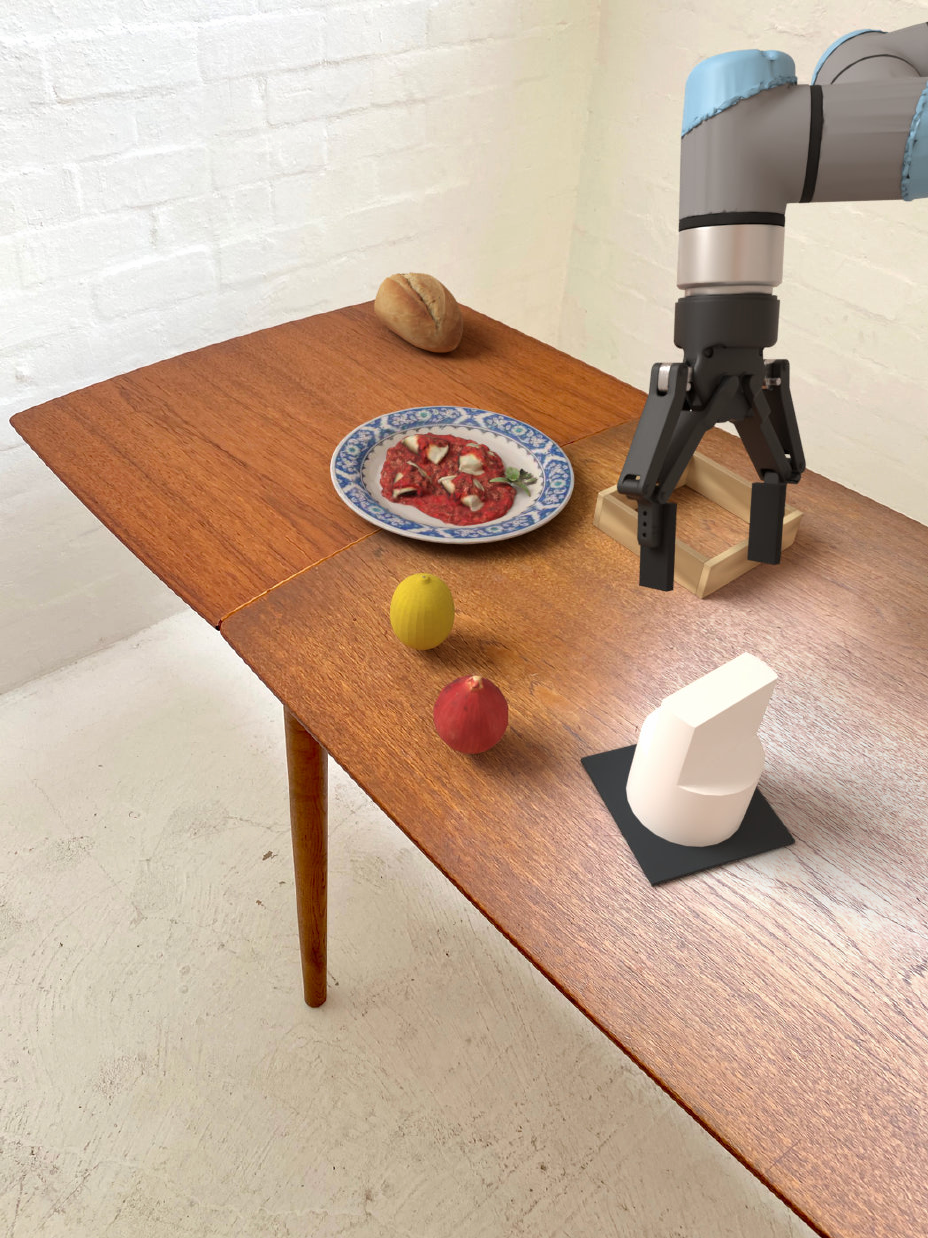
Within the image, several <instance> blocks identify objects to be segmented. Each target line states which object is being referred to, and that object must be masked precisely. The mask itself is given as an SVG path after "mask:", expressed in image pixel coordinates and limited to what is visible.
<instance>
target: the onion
mask: <svg viewBox="0 0 928 1238" xmlns="http://www.w3.org/2000/svg"><path fill="white" fill-rule="evenodd" d="M432 711H433V712H432V713H433V714H432V715H433V725H434V728H435V730H436V732H437V734H438V736H439V738H440V740H441V741H443V743H445V744H446V745H447V746H448V747H449V748H451V750H453V751H455V752H459V753H462V754H471V755H472V754H474V755H476V754H480V753H484V752H487V751H489V750H490V749H491V748H493V747H494V746H496V744H498V743H499V742H500V741H501V739H502V738H503V736H504V735H505V733H506V731H507V729H508V726H509V703H508V701H507V699H506V697H505V696H504V693H502V690H501V689H500V687H498V686H497V685H495V684H494V683H493V682H492V681H491V680H490V679H488V678H486V677H483V676H481V675H475V674H467V675H462V676H459V677H456V678H454V679H453V680H452V681H450V682H449V683H447V684H446V685H445V686H443V688H442V689H441V691H440V692H439V695H438V696H437V698H436V699H435V702H434V704H433V710H432Z"/></svg>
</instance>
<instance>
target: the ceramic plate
mask: <svg viewBox="0 0 928 1238" xmlns="http://www.w3.org/2000/svg"><path fill="white" fill-rule="evenodd" d="M329 468H330V469H329V470H330V477H331V482H332V484H333V487H334V489H335V491H336V493H337V495H338V496H339V497H340V499H341V500H342V501H343V502H344V504H346V506H347V507H348V508H349V509H351V510H352V511H353V512H354V513H355V514H357V515H358V516H360V517H361V518H363V519H364V520H365V521H368V522H369V523H371V524H372V525H375V526H377V527H379V528H381V529H384V530H386V531H388V532H391V533H394V534H397V535H400V536H403V537H407V538H410V539H415V540H420V541H425V542H431V543H439V544H449V545H450V544H455V545H474V544H484V543H494V542H499V541H504V540H505V541H506V540H509V539H512V538H515V537H519V536H522V535H524V534H528V533H530V532H531V531H532V532H533V531H535V530H536V529H538V528H541V527H542V526H544V525H546V524H547V523H549V522H550V521H551V520H552V519H554V518H556V517H557V515H559V514H560V513H561V512H562V511H563V510H564V508H565V507H566V506H567V504H568V502H569V501H570V499H571V497H572V493H573V491H574V486H575V474H574V473H575V472H574V469H573V466H572V463H571V460H570V459H569V457H568V456H567V454H566V453H565V451H564V450H563V449H562V447H560V446H559V444H558V443H557V442H555V440H553V439H552V438H551V437H549V436H548V435H546V434H545V433H544V432H542V431H541V430H540V429H537V428H536V427H534V426H532V425H530V424H529V423H526V422H524V421H522V420H518V419H517V418H514V417H511V416H508V415H506V414H502V413H499V412H495V411H491V410H487V409H481V408H476V407H467V406H457V405H431V406H430V405H429V406H417V407H410V408H405V409H400V410H396V411H392V412H388V413H385V414H381V415H378V416H377V417H374V418H373V419H370V420H368V421H366V422H363V423H362V424H359V425H358V426H356V428H355V427H354V429H353V430H351V431H350V432H349V433H347V435H345V436H344V437H343V439H341V440H340V442H339V443H338V445H337V446H336V447H335V450H334V451H333V453H332V457H331V459H330V467H329Z"/></svg>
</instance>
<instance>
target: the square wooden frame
mask: <svg viewBox="0 0 928 1238" xmlns="http://www.w3.org/2000/svg"><path fill="white" fill-rule="evenodd" d="M636 479H638V480H639V479H640V476H637V477H636ZM752 483H753V482H752V481H749V480H747V479H746V478H745V477H742V476H740V475H739V474H737V473H736V472H733V471H731V470H730V469H728V468H727V467H725V466H723V465H722V464H720V463H718V462H717V461H714V460H713V459H711V458H710V457H708V456H706V455H705V454H703V453H702V452H699V451H697V450H695V452H694V454H693V456H692V458H691V459H690V461H689V463H688V465H687V467H686V469H685V470H684V472H683V474H682V476H681V478H680V480H679V481H678V483H677V485H676V487H675V489H674V491H675V490H677V489H679V488H681V487H683V486H687V487H688V488H690V489H691V490H693V491H694V492H696V493H698V494H700V495H701V496H703V497H705V498H706V499H708V500H710V501H711V502H713V503H714V504H716V505H718V506H719V507H721V508H723V509H724V510H726V511H728V513H729V512H730V513H731V514H733V515H734V516H736V517H737V518H739V519H740V520H742V521H744V522H746V523H747V524H750V508H751V492H752ZM656 485H657V486H658V484H656ZM636 510H638V503H637V501H636V500H629V499H628V498H627V497H626V495H623V494H619V493H618V491H617V483H616V484H614V485H612V486H610V487H608V488H606V489H602V490H601V491H599V492H598V494H597V498H596V504H595V510H594V514H593V515H594V516H593V521H592V526H593V527H596V529H598V530H599V531H601V532H602V533H604V534H605V535H607V536H608V537H610V538H612V539H613V540H614V541H616V542H617V543H619V544H620V545H621V546H623V547H625V548H626V550H627V549H628V550H629V551H630V552H632V553H633V554H634V555H636V556H638V557H639V558H640V545H639V544H638V540H637V532H638V530H637V526H638V511H636ZM803 516H804V512H802V511H801V510H799V509H798V508H796V507H794V506H792V505H791V504H789V503H787V502H785V515H784V519H783V532H782V547H781V552H783V551H784V550H787V549H788V548H789V547H791V546H793V544H794V542H795V539H796V537H797V533H798V530H799V528H800V525H801V522H802V519H803ZM748 540H749V537H747V538H745V539H743V540H742V541H740V542H738V543H737V544H735V545H733V546H731V547H729V548H727V549H726V550H724V551H722V552H721V553H719V554H717V555H715V556H714V557H711V558H710V559H709V557H707V556H705V555H704V554H703V553H701V552H699V551H698V550H696V549H695V548H693V547H691V546H690V545H688V544H687V543H685V542H684V541H682V540H680V539H679V538H678V537H676V540H675V564H674V582H675V583H677V584H679V585H680V586H682V587H683V588H684V589H686V590H687V591H689V592H690V593H692V594H693V595H695V596H696V597H698V598H699V599H701V600H703V599H704V598H706V597H708V596H710V595H711V594H712V593H715V592H716V591H718V590H719V589H721V588H723V587H724V586H726V585H727V584H730V583H731V582H733V581H734V580H736V579H737V578H739V577H741V576H743V575H744V574H746V573H748V572H749V571H751V570H753V569H754V568H756V567H758V566H759V565H761V564H762V563H761V562H755V561H750V560H747V556H748Z"/></svg>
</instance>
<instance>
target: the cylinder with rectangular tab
mask: <svg viewBox="0 0 928 1238" xmlns="http://www.w3.org/2000/svg"><path fill="white" fill-rule="evenodd" d="M779 678H780V677H779V675H778V674H777V672H776V671H775V670H774V669H772V667H770V666H769V665H768V664H767V663H766V662H765V661H763V660H762V659H760V658H758V657H756V656H755V655H753V654H751V653H750V652H747V651H744V652H743V653H742V654H740V655H738V656H736V657H734V658H733V659H731V660H729V661H727V662H726V663H723V664H722V665H721V666H719V667H717V668H714V670H712V671H709V672H708V673H706V674H705V675H703V676H701V677H699V678H698V679H696V680H694V681H692V682H691V683H689V684H687V685H686V686H684V687H682V688H680V689H678V690H677V691H675V692H673V693H672V694H670V695H668V696H666V697H665V698H663V699H662V700H661V704H660V706H659V707H657V708H656V709H655V710H653V711H652V712H651V713H649V714H648V715H647V716H646V719H645V720H644V722H643V723H642V725H641V729H640V732H639V736H638V740H637V743H636V744H637V747H636V750H635V754H634V758H633V762H632V765H631V769H630V773H629V777H628V781H627V786H626V791H627V799H628V802H629V804H630V807H631V809H632V811H633V813H634V814H635V816H636V817H637V818H638V819H639V820H640V822H641V823H642V824H643V825H644V826H645V827H647V828H648V829H649V830H650V831H652V832H653V833H654V834H656V835H658V836H660V837H662V838H664V839H666V840H668V841H670V842H673V843H677V844H681V845H684V846H697V847H704V846H709V845H714V844H718V843H720V842H722V841H724V840H726V839H728V838H730V837H731V836H732V835H733V834H734V833H735V832H736V831H737V830H738V828H739V826H740V824H741V822H742V820H743V818H744V815H745V813H746V810H747V808H748V806H749V803H750V801H751V798H752V796H753V793H754V791H755V788H756V786H757V785H758V783H759V781H760V778H761V776H762V774H763V772H764V769H765V761H766V753H765V750H764V746H763V743H762V741H761V739H760V738H759V736H758V731H759V729H760V726H761V724H762V721H763V719H764V716H765V714H766V711H767V709H768V706H769V704H770V701H771V698H772V695H773V693H774V690H775V688H776V686H777V682H778V680H779ZM757 787H758V786H757Z"/></svg>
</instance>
